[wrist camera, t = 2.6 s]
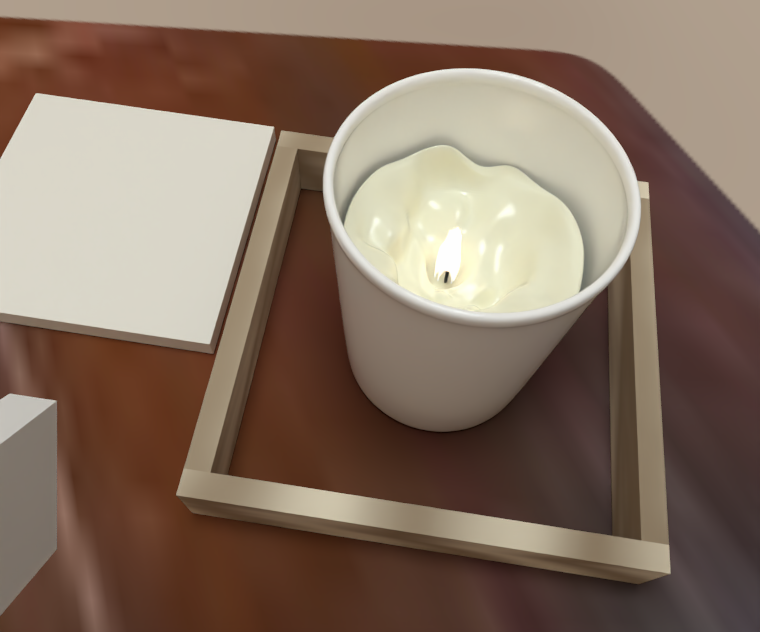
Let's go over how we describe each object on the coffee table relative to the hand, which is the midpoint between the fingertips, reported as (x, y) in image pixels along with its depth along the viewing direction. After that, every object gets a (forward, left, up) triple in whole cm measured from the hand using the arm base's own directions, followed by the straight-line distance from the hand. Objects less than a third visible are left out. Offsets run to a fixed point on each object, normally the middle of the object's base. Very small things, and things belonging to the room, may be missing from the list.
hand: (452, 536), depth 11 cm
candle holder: (-1, -12, -17) cm, 21 cm away
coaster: (+16, -16, -17) cm, 28 cm away
